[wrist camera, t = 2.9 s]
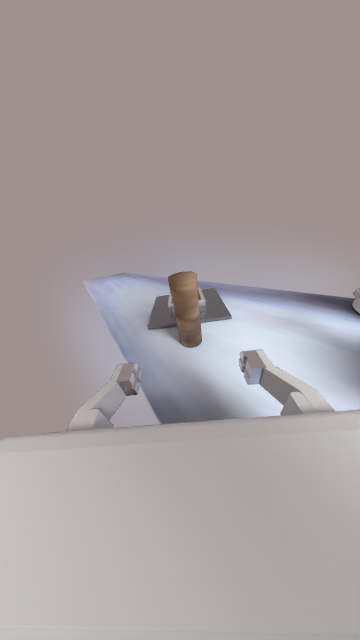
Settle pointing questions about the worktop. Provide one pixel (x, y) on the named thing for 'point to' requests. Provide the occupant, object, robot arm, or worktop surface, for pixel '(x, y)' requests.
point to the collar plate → (208, 308)
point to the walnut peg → (186, 307)
